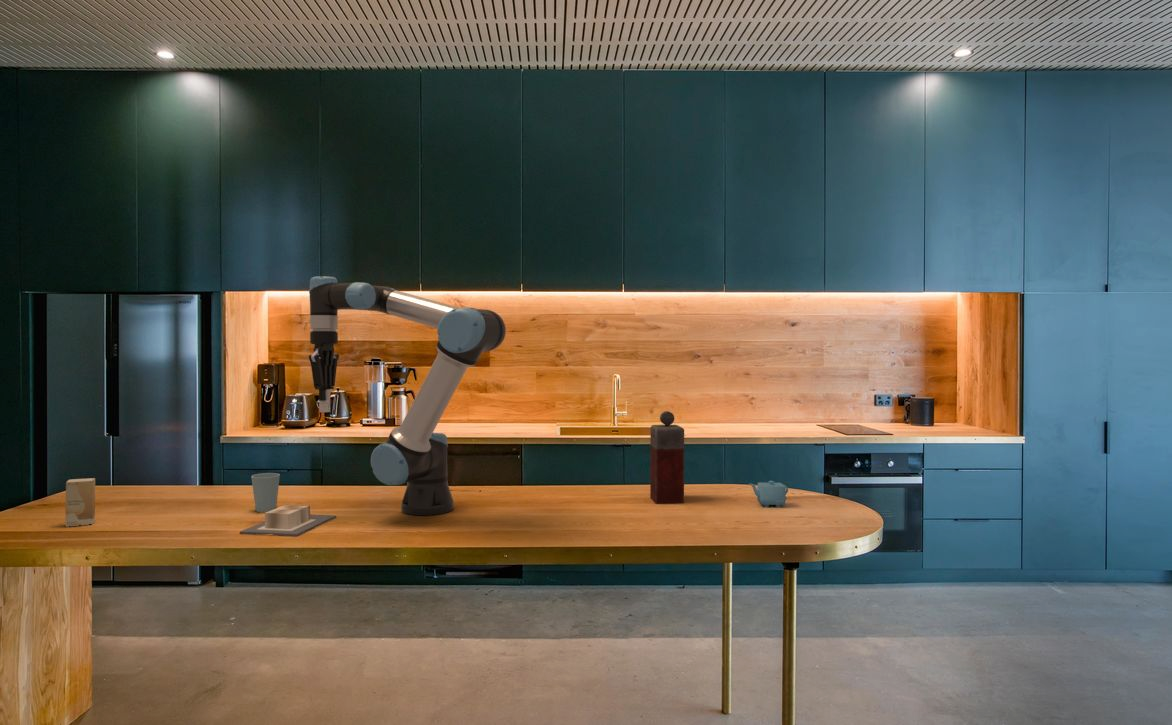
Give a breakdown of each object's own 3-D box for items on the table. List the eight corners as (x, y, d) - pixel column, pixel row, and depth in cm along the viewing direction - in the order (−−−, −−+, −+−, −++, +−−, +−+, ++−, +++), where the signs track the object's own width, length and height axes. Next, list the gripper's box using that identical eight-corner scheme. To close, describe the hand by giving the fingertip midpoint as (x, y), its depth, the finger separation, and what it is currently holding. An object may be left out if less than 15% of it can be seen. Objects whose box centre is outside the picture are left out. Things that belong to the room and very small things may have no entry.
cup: (280, 511, 209) (279, 476, 209) (251, 514, 206) (251, 478, 206) (280, 506, 216) (279, 472, 216) (252, 508, 213) (251, 474, 213)
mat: (336, 517, 202) (336, 515, 202) (296, 536, 183) (296, 533, 183) (284, 515, 205) (284, 513, 205) (239, 533, 185) (239, 531, 185)
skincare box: (65, 527, 191) (64, 482, 191) (68, 523, 195) (67, 479, 195) (94, 524, 194) (93, 480, 194) (96, 521, 198) (95, 477, 198)
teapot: (750, 507, 215) (750, 482, 214) (746, 503, 221) (746, 478, 220) (790, 508, 214) (790, 483, 214) (785, 503, 220) (785, 479, 220)
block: (309, 505, 197) (289, 513, 187) (310, 519, 197) (289, 529, 187) (286, 504, 198) (264, 512, 188) (286, 518, 198) (264, 528, 188)
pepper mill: (676, 495, 231) (676, 409, 231) (684, 503, 220) (684, 412, 219) (648, 496, 230) (648, 409, 230) (655, 503, 219) (655, 412, 219)
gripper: (323, 330, 214) (324, 409, 214) (299, 330, 201) (300, 413, 202) (347, 330, 213) (347, 410, 213) (324, 330, 200) (325, 414, 200)
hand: (324, 411), depth 207 cm, fingers closed
